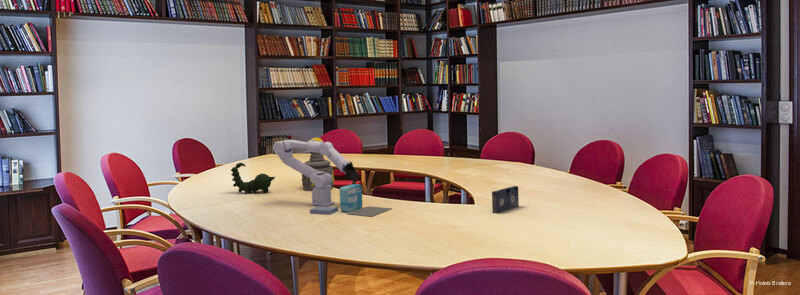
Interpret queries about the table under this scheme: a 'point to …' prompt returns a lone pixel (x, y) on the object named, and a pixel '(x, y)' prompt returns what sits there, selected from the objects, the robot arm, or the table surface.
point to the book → (323, 210)
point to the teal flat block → (350, 198)
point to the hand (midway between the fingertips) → (357, 178)
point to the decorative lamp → (317, 168)
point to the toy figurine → (254, 185)
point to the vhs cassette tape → (505, 199)
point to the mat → (369, 211)
